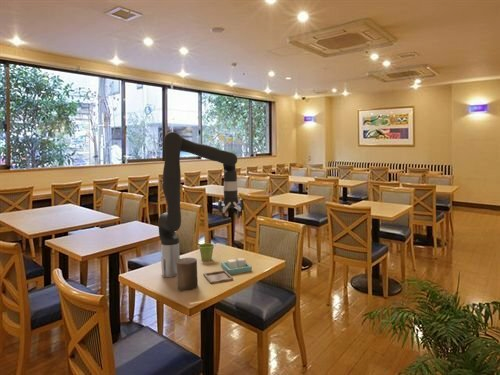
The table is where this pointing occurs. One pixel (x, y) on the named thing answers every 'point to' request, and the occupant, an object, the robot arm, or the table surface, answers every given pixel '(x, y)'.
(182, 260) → the pillar candle
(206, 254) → the plant pot
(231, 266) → the stone
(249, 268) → the dish
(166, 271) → the robot arm
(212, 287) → the table surface
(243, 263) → the stone
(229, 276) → the tray
